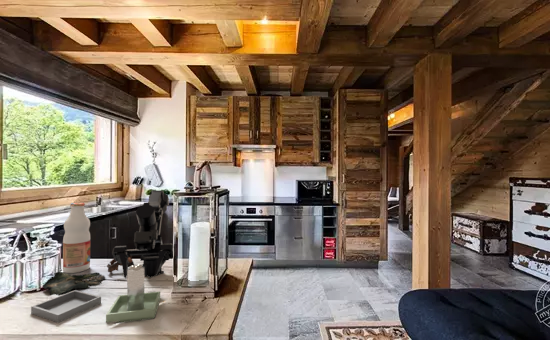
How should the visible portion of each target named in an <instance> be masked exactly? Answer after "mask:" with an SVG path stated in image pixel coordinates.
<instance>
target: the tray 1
mask: <svg viewBox="0 0 550 340" xmlns="http://www.w3.org/2000/svg"><path fill="white" fill-rule="evenodd" d="M100 304H102V296H101V295H97V294H94V293H93V294H92V293H89V292H84V291H82V290H81V291H80V290H77V289H75V290H72V291H71V290H70V291H68V292H65V293H63V294H60V295H57V296H56V297H53V298H51V299H48V300H45V301H42V302H40V303H37V304H34V305H31V306H30V314H31V315H33V316H37V317H40V318H43V319H46V320H49V321H52V322H54V323H58V324H59V323H60V322H62V321H65V320H68V319H69V318H72V317H74V316H76V315H78V314H80V313H83V312H85V311H87V310H89V309H92V308H94V307H97V306H98V305H100Z"/></svg>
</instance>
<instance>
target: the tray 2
mask: <svg viewBox="0 0 550 340" xmlns="http://www.w3.org/2000/svg"><path fill="white" fill-rule="evenodd" d="M160 300H161V291H152V292H151V291H150V292H144V309H143V310H136V311H127V294H121V295H118V296H117V297H116V299H115V300H114V302H113V304H112V306H110V308H109V309H108V311H107V313H106V314H105V323H111V322H115V324H120V323H128V322H137V321H145V320H154V319H155V317H156V314H157V310H158V307H159V304H160Z"/></svg>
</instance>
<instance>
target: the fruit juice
mask: <svg viewBox="0 0 550 340" xmlns="http://www.w3.org/2000/svg"><path fill="white" fill-rule="evenodd" d="M70 208H71V209H70V213H69V216H68V217H67V218H66V220H65V221H64V223H63V229H64V235H63V239H62V271H63V273H66V274H74V273H76V274H77V273H81V272H83V271H84V272H85V271H87V270H88V269H90V267H91V232H90V227H91V220H90V218H88V216H87V214H86V213H85V210H84V209H85V202H71V203H70Z"/></svg>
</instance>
